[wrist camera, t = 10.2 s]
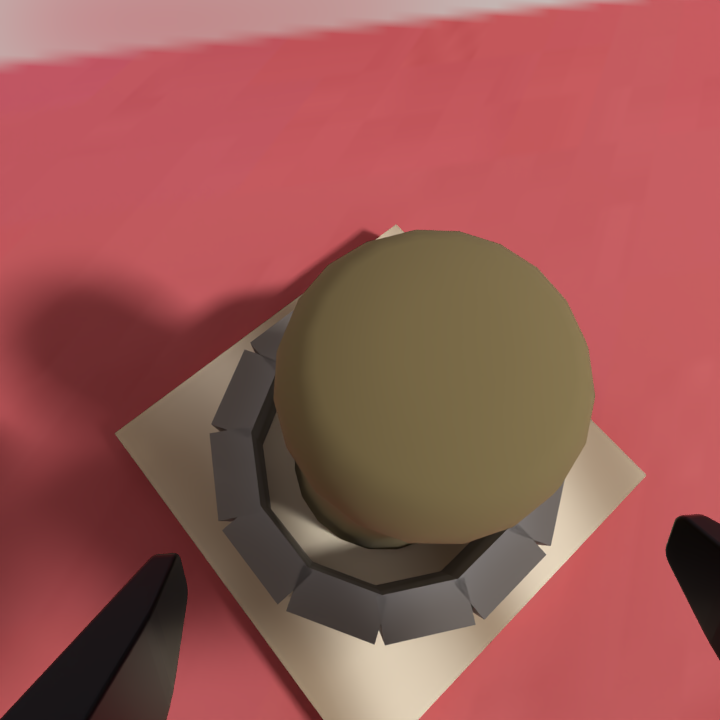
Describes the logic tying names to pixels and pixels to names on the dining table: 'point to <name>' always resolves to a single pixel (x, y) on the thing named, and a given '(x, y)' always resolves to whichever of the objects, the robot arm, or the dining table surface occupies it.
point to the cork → (431, 390)
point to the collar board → (348, 544)
